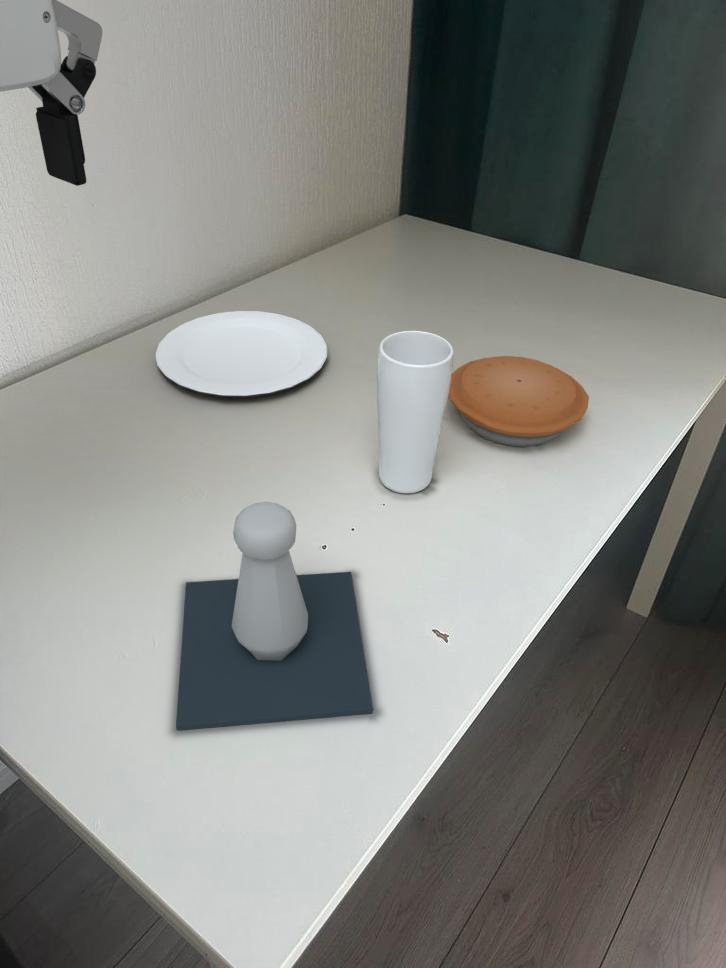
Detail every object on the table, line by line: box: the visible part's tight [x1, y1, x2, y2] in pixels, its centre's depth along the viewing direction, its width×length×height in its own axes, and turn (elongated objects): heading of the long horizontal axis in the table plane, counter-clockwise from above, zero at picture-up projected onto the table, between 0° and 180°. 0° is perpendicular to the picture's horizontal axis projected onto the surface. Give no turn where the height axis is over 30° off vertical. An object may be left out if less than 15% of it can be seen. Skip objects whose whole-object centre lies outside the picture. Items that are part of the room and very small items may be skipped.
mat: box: [175, 571, 374, 731], centre depth 61 cm, size 14×14×1 cm
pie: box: [448, 355, 590, 448], centre depth 86 cm, size 15×16×5 cm
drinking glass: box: [376, 330, 454, 494], centre depth 73 cm, size 7×7×15 cm
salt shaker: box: [232, 501, 308, 661], centre depth 56 cm, size 6×6×13 cm
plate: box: [155, 310, 328, 398], centre depth 95 cm, size 21×21×2 cm
